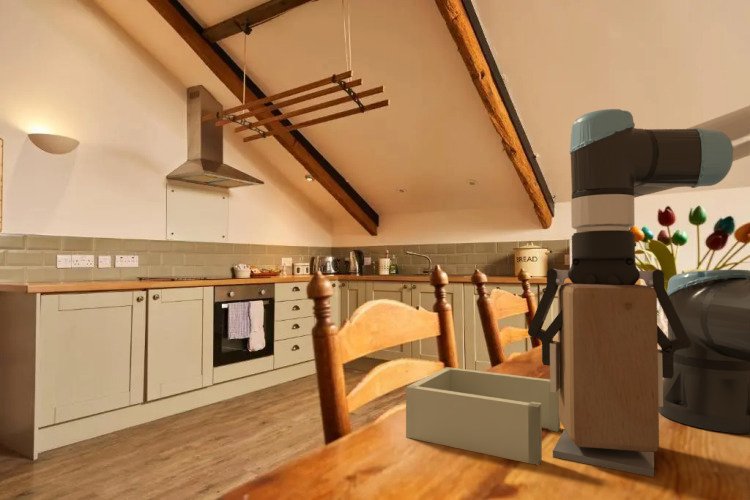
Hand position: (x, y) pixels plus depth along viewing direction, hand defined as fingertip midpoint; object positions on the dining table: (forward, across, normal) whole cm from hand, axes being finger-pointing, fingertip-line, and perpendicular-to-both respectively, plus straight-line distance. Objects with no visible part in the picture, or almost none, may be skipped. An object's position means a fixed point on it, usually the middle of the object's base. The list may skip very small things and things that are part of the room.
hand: (604, 396), depth 61 cm
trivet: (+7, 0, 0) cm, 7 cm away
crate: (+7, +16, +2) cm, 17 cm away
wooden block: (+6, 0, 0) cm, 6 cm away
